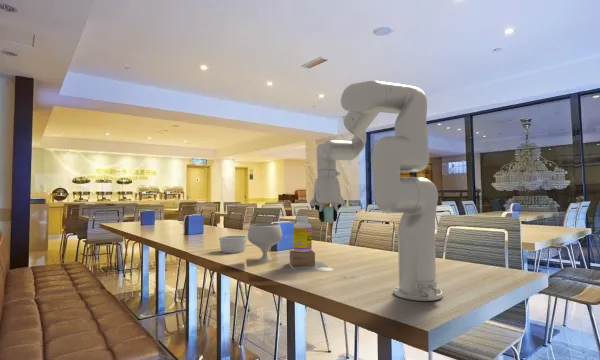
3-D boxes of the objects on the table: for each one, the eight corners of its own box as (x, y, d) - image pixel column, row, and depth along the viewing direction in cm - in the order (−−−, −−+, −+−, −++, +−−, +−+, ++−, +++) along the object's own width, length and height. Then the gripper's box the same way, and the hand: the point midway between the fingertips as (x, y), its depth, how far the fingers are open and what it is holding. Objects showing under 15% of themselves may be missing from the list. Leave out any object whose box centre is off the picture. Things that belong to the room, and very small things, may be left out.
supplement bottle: (308, 253, 124) (308, 217, 125) (291, 252, 126) (290, 216, 127) (313, 250, 131) (313, 215, 131) (297, 249, 133) (296, 215, 133)
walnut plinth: (315, 266, 125) (314, 252, 125) (293, 267, 124) (292, 253, 124) (310, 262, 133) (310, 249, 133) (289, 263, 132) (289, 250, 132)
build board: (335, 274, 118) (335, 271, 118) (295, 276, 116) (295, 273, 116) (323, 264, 135) (323, 261, 135) (288, 266, 133) (288, 262, 133)
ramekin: (238, 248, 178) (238, 234, 178) (252, 251, 168) (252, 236, 168) (214, 251, 169) (214, 236, 170) (227, 254, 159) (227, 239, 159)
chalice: (281, 265, 134) (281, 226, 135) (245, 265, 134) (244, 226, 135) (283, 258, 148) (282, 223, 149) (250, 258, 148) (250, 223, 149)
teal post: (335, 222, 136) (334, 206, 136) (324, 222, 135) (323, 206, 135) (332, 221, 140) (331, 206, 140) (321, 222, 139) (321, 206, 140)
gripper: (344, 175, 144) (346, 220, 142) (304, 176, 141) (305, 221, 140) (350, 174, 136) (351, 221, 135) (307, 174, 133) (309, 222, 132)
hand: (328, 220), depth 137 cm, fingers closed on teal post, 4 cm apart
